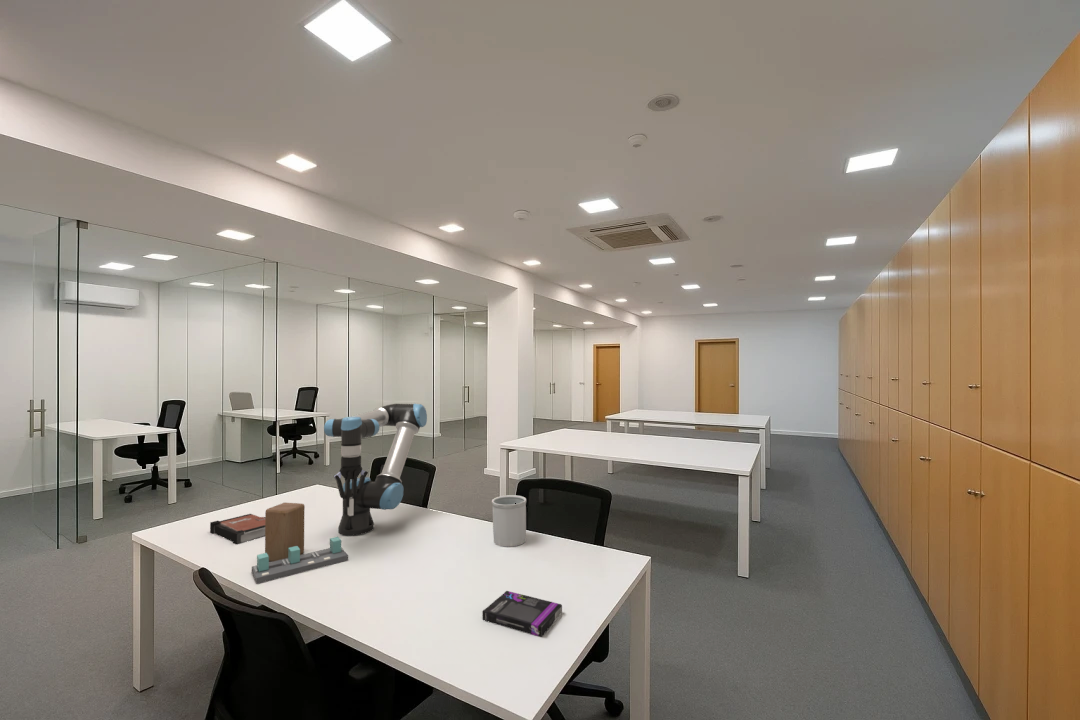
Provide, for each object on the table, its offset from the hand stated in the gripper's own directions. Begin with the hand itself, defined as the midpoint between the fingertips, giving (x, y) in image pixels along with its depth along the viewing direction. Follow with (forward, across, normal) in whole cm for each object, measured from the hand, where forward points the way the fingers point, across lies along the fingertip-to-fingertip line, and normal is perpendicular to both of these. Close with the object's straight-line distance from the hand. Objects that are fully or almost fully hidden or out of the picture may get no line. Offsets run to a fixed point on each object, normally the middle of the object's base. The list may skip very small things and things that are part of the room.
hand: (350, 514), depth 179 cm
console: (+15, +18, +1) cm, 23 cm away
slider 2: (+13, +20, 0) cm, 24 cm away
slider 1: (+13, +30, 0) cm, 33 cm away
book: (+16, +29, -55) cm, 65 cm away
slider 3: (+13, +5, 0) cm, 14 cm away
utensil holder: (+15, -56, +31) cm, 66 cm away
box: (+16, -25, +81) cm, 86 cm away
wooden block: (+15, +21, -12) cm, 29 cm away
